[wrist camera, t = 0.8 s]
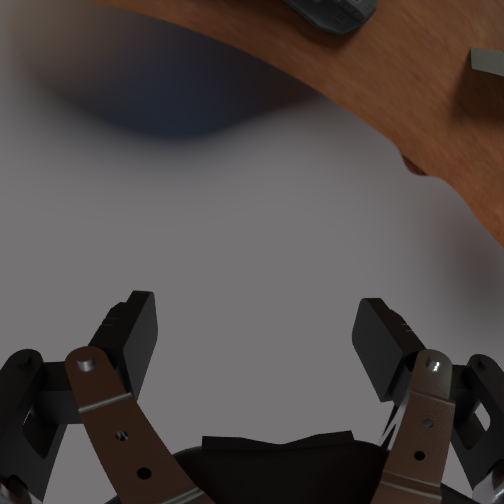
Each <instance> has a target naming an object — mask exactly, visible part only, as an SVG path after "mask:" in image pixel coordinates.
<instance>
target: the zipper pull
mask: <svg viewBox="0 0 504 504" xmlns="http://www.w3.org/2000/svg"><path fill="white" fill-rule="evenodd" d="M283 1H284V2H285V3H287V4H288V5H289V6H291V7H292V8H293V9H294V10H296V11H297V12H298V13H299V14H300V15H302V16H303V17H304V18H305V19H306V20H307V21H308V22H310V23H311V24H312V25H313V26H314V27H315V28H317V29H320V30H324V31H327V32H330V33H333V34H336V35H342V34H345V33H347V32H349V31H351V30H353V29H355V28H357V27H360V26H362V25H363V24H365V23H366V21H367V20H368V19H369V18H370V17H371V16H372V15H373V14H374V12H375V10H376V4H377V2H378V0H283Z"/></svg>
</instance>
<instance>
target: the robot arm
mask: <svg viewBox="0 0 504 504" xmlns="http://www.w3.org/2000/svg"><path fill="white" fill-rule="evenodd" d="M157 335H158V325H157V316H156V307H155V298H154V293H153V292H149V291H133V292H132V293H131V295H130V297H129V299H128V300H127V302H120V303H118V304H117V305H115V306H114V307H113V308H111V309H110V311H109V312H108V314H107V316H106V318H105V319H104V320H103V322H102V325H100V326H99V328H98V330H97V331H96V333H95V335H94V336H93V338H92V339H91V341H90V343H89V344H88V346H84V347H80V348H77V349H75V350H73V351H72V352H70V353H69V354H68V355H67V357H66V359H65V361H62V362H44V361H43V359H42V356H41V354H40V353H39V352H38V351H36V350H32V349H23V350H20V351H17V352H16V353H14V354H13V355H11V356H10V357H9V358H8V360H7V361H6V363H5V364H4V366H3V367H2V369H1V370H0V504H43V499H44V496H45V492H46V489H47V485H48V482H49V478H50V475H51V472H52V468H53V465H54V462H55V459H56V456H57V453H58V450H59V447H60V444H61V441H62V439H63V436H64V433H65V430H66V427H67V425H68V424H84V426H85V429H86V431H87V434H88V436H89V438H90V441H91V443H92V445H93V447H94V450H95V452H96V454H97V456H98V458H99V460H100V462H101V464H102V466H103V469H104V470H105V472H106V474H107V476H108V478H109V480H110V482H111V484H112V486H113V488H114V489H115V491H116V493H117V495H116V496H115V497H114V498H112V499H111V500H109V501H108V502H106V503H105V504H504V372H503V371H502V369H501V368H500V367H499V366H498V364H497V363H496V362H495V361H494V360H493V359H491V358H490V357H488V356H486V355H482V354H475V355H473V356H471V358H470V359H469V361H468V363H467V365H466V366H465V365H453V364H452V363H451V360H450V359H449V358H448V357H447V356H446V355H445V354H443V353H442V352H439V351H437V350H432V349H426V348H425V346H424V345H423V344H422V342H421V341H420V340H419V338H418V337H417V336H416V335H415V333H414V332H413V331H412V329H411V328H410V327H409V326H408V325H407V323H406V322H405V321H404V319H403V318H402V317H401V316H400V315H399V314H397V313H396V312H394V311H393V310H390V309H389V308H388V306H387V305H386V304H385V303H384V301H383V300H382V299H381V298H363V299H362V300H361V301H360V304H359V308H358V312H357V316H356V320H355V323H354V327H353V331H352V342H353V346H354V348H355V350H356V352H357V354H358V356H359V358H360V360H361V362H362V364H363V366H364V368H365V370H366V372H367V374H368V376H369V378H370V380H371V382H372V385H373V387H374V389H375V391H376V393H377V395H378V397H379V399H380V402H386V401H392V400H393V402H394V405H393V407H392V409H391V411H390V414H389V416H388V419H387V421H386V424H385V426H384V429H383V431H382V434H381V436H380V438H379V441H378V443H377V445H375V444H373V443H369V442H365V441H359V440H354V437H353V434H352V432H351V431H343V432H334V433H326V434H317V435H313V436H310V437H307V438H304V439H300V440H297V441H293V442H290V443H286V444H272V443H266V442H261V441H256V440H251V439H246V438H240V437H213V436H212V437H211V436H203V437H202V446H198V447H193V448H189V449H185V450H182V451H180V452H177V453H175V454H173V455H172V454H171V453H170V452H169V450H168V449H167V447H166V446H165V445H164V443H163V442H162V440H161V439H160V438H159V436H158V435H157V433H156V432H155V431H154V429H153V427H152V426H151V424H150V423H149V421H148V420H147V418H146V417H145V415H144V414H143V412H142V410H141V409H140V407H139V405H138V404H137V400H138V396H139V393H140V390H141V387H142V384H143V380H144V377H145V374H146V371H147V368H148V365H149V362H150V359H151V356H152V353H153V350H154V347H155V344H156V341H157ZM480 403H482V404H483V406H484V408H485V409H486V411H487V412H488V414H489V416H490V426H489V428H488V430H487V431H485V430H484V428H483V426H482V424H481V422H480V421H479V419H478V417H477V416H476V414H475V411H476V409H477V408H478V406H479V405H480ZM29 411H30V412H29ZM28 412H29V414H28ZM27 414H28V416H27ZM26 417H27V419H26ZM25 419H26V420H25ZM24 421H25V423H24ZM23 424H24V425H23ZM450 441H451V443H452V446H453V448H454V450H455V452H456V454H457V456H458V458H459V461H460V463H461V465H462V467H463V469H464V472H465V474H466V476H467V479H468V481H469V483H470V486H471V488H472V491H473V494H472V499H471V498H469V497H467V496H465V495H463V494H461V493H459V492H458V491H456V490H454V489H452V488H450V487H448V486H447V485H445V484H443V483H441V480H442V476H443V472H444V468H445V464H446V459H447V454H448V449H449V444H450Z"/></svg>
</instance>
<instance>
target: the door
mask: <svg viewBox="0 0 504 504" xmlns="http://www.w3.org/2000/svg"><path fill="white" fill-rule="evenodd" d="M470 48H471V47H470ZM471 65H472V69H476V70H480V71H485V72H489V73H493V74H497V75H500V76H504V51H497V50H489V49H481V48H471Z"/></svg>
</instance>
